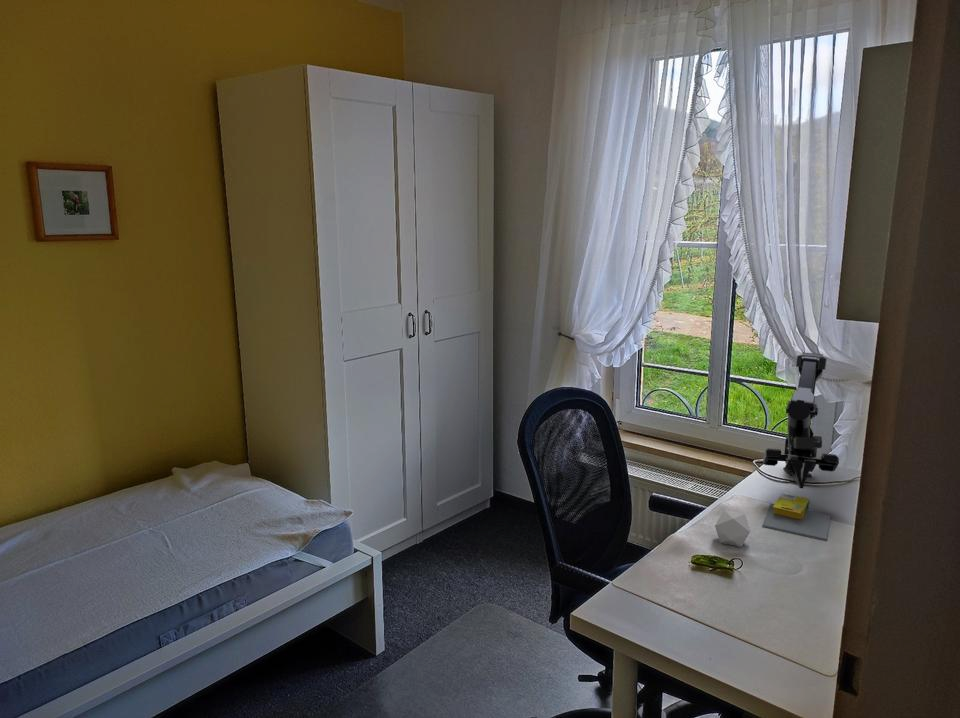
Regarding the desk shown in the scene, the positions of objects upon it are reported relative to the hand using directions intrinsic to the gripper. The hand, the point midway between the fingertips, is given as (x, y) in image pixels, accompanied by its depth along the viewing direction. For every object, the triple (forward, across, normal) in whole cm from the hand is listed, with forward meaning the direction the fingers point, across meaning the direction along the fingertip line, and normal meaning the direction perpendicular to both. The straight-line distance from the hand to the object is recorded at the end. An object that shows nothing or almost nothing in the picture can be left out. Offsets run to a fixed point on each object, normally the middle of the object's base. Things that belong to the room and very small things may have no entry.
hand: (801, 487), depth 190 cm
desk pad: (+10, -2, 0) cm, 10 cm away
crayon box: (+1, 0, +6) cm, 6 cm away
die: (+22, -20, -12) cm, 32 cm away
